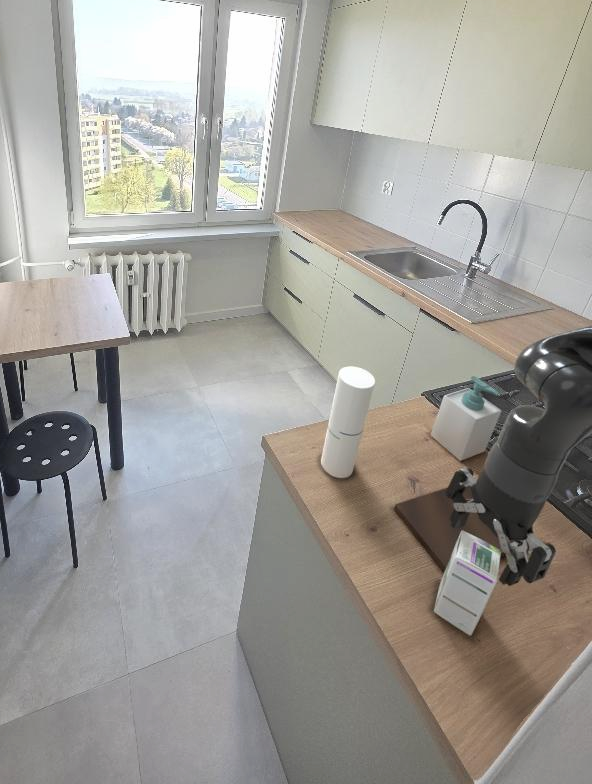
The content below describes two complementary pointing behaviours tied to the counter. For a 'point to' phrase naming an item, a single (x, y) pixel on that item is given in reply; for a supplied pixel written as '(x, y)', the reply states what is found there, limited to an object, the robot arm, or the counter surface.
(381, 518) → the counter surface
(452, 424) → the soap bottle
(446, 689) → the counter surface
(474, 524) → the board
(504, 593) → the counter surface
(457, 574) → the syrup box
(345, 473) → the cylindrical container
